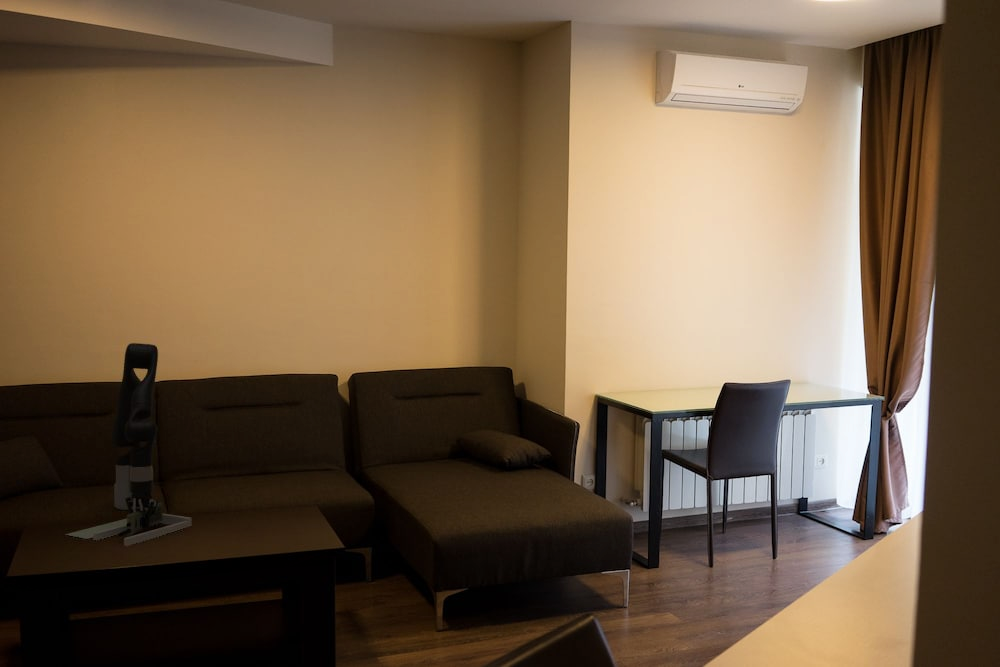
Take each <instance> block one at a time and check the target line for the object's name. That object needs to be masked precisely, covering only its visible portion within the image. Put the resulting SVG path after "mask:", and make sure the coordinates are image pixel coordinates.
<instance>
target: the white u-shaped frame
mask: <svg viewBox="0 0 1000 667" xmlns="http://www.w3.org/2000/svg"><path fill="white" fill-rule="evenodd" d="M192 522H193V521H192V517H189V516H188V517H187V516H182V515H174V514H168V513H163V512H162V521H160V522H158V523H163V524H162V525H164V524H171V525H165V526H163V527H159V528H156V529H153V530H149V531H145V532H141V533H139V534H137V533H136V534H134V535H129V536H127V537H124V538H123V546H124V547H130V546H133V544H134V545H137V544H140V543H143V541H144V542H147V541H150V539H151V540H153V538H154V539H156V537H157V538H160V537H159V536H161V537H163V536H162V535H164V536H166V535H165V534H167V533H171V532H174V531H177V530H180V529H183V528H186V527H189V526H192ZM156 525H158V524H157V523H156ZM152 526H154V524H153V525H152ZM125 530H127V526H126V525H122V526H118V527H115V528H111V529H107V530H103V531H100V532H96V533H93V538H92V539H93V541H94V540H96V541H95V542H98V541H100V539H102V540H105V539H104V538H106V539H108V538H107V537H109V538H112V537H111V536H113V537H115V536H114V535H116V536H118V535H117V534H119V533H120V532H123V531H125ZM174 533H175V532H174ZM171 534H172V533H171ZM97 540H98V541H97ZM146 540H147V541H146ZM136 543H137V544H136Z"/></svg>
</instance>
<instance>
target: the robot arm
mask: <svg viewBox="0 0 1000 667" xmlns="http://www.w3.org/2000/svg"><path fill="white" fill-rule="evenodd" d="M158 360H159V349H158V347H157V345H155V344H151V343H149V344H148V343H140V342H139V343H137V342H136V343H135V342H132V343H131V342H130V343H128V344H127V346H126V349H125V353H124V360H123V361H124V363H123V372H122V380H121V384H120V389H119V394H118V398H117V408H116V413H115V417H114V421H113V425H112V429H111V432H110V433H111V435H110V439H111V440H110V441H111V444H112V446H114V447H115V448H125V447H126V448H128V447H131V448H130V449H129V450H128V451H126V452H125V453H123V454H120V455H118V456H117V457H116V458H115V483H114V484H113V491H114V492H113V493H114V495H113V496H114V498H113V499H114V500H113V501H114V505H113V506H114V508H115V507H116V508H115V509H117V510H122V511H125V510H128V512H129V514H131V513H133V512H136V511H138V510H141V512H142V516H143V518H142V526H143V527H142V528H143V529H142V530H146V529H149V527H150V526H149V518H150V517H151V516H154V514H155V511H156V508H157V505H158V502H159V501H158V500H154V499H153V495H152V492H153V491H154V468H153V450H154V445H155V442H156V439H157V435H158V430H159V428H158V425H157V423H156V422H155V421H153V420H152V421H151V420H148V419H149V418H151V417H152V415H153V406H154V405H153V402H154V401H153V396H154V389H155V388H154V387H155V383H156V377H157V376H156V375H157V368H158ZM135 369H137V370H138V369H139V370H147V372H146V375H145V376H144V377H143V379H142V380H141V378H139V377H138V376H137V374H136V371H135ZM145 420H146V421H145ZM143 442H146V444H145V445H143V446H142V443H143ZM146 507H147V508H146ZM144 508H145V509H144ZM146 512H147V514H146Z"/></svg>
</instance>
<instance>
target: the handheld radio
mask: <svg viewBox="0 0 1000 667" xmlns="http://www.w3.org/2000/svg"><path fill="white" fill-rule="evenodd" d="M146 508H147V507H146ZM144 509H145V508H144ZM162 513H163V502H159V501H158V505H157V508H156V511H155V514H154V516H151V517H150V518H149V527H152V526H154V525H153V524H156V523H158V522H160V521H162ZM146 514H147V512H146ZM142 518H143V516H142V512H141V510H137V511H136V512H133V513H131V514H130V513H129V514H127V515H126V519H127V524H126V526H127V530H125V531H123V532H120V533H119V534H118V535H117V536H118V537H120V538H121V537H122V536H125V535H126V536H133V534H134V535H135V534H137V532H141V531H142V530H144V529H143V528H142V527H143V526H142ZM151 525H152V526H151ZM156 525H157V524H156Z"/></svg>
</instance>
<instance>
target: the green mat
mask: <svg viewBox="0 0 1000 667" xmlns="http://www.w3.org/2000/svg"><path fill="white" fill-rule="evenodd" d="M126 524H127V518H123V519H119V520H116V521H113V522H108V523H104V524H101V525H97V526H94V527H93V526H91V527H89V528H85V529H81V530H76V531H74V532H70V533H65V534H64V536H65V535H69V536H73V537H72V538H74V537H79V538H83V539H82V540H85V539H89V540H91V539H90V538H92V539H93V533H96V532H100V531H103V530H107V529H111V528H115V527H118V526H122V525H126ZM79 538H78V539H79Z"/></svg>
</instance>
